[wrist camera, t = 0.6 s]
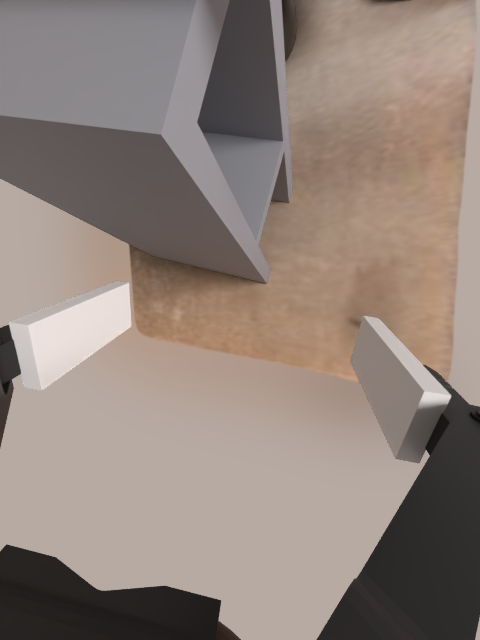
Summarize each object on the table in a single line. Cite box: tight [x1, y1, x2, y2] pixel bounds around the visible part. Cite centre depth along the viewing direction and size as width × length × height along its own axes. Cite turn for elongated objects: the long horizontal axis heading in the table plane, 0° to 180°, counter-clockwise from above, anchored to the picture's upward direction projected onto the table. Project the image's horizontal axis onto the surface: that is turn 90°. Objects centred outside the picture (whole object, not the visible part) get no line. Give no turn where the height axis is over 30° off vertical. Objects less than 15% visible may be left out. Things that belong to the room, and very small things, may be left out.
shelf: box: [0, 0, 293, 283], centre depth 26 cm, size 14×19×30 cm
